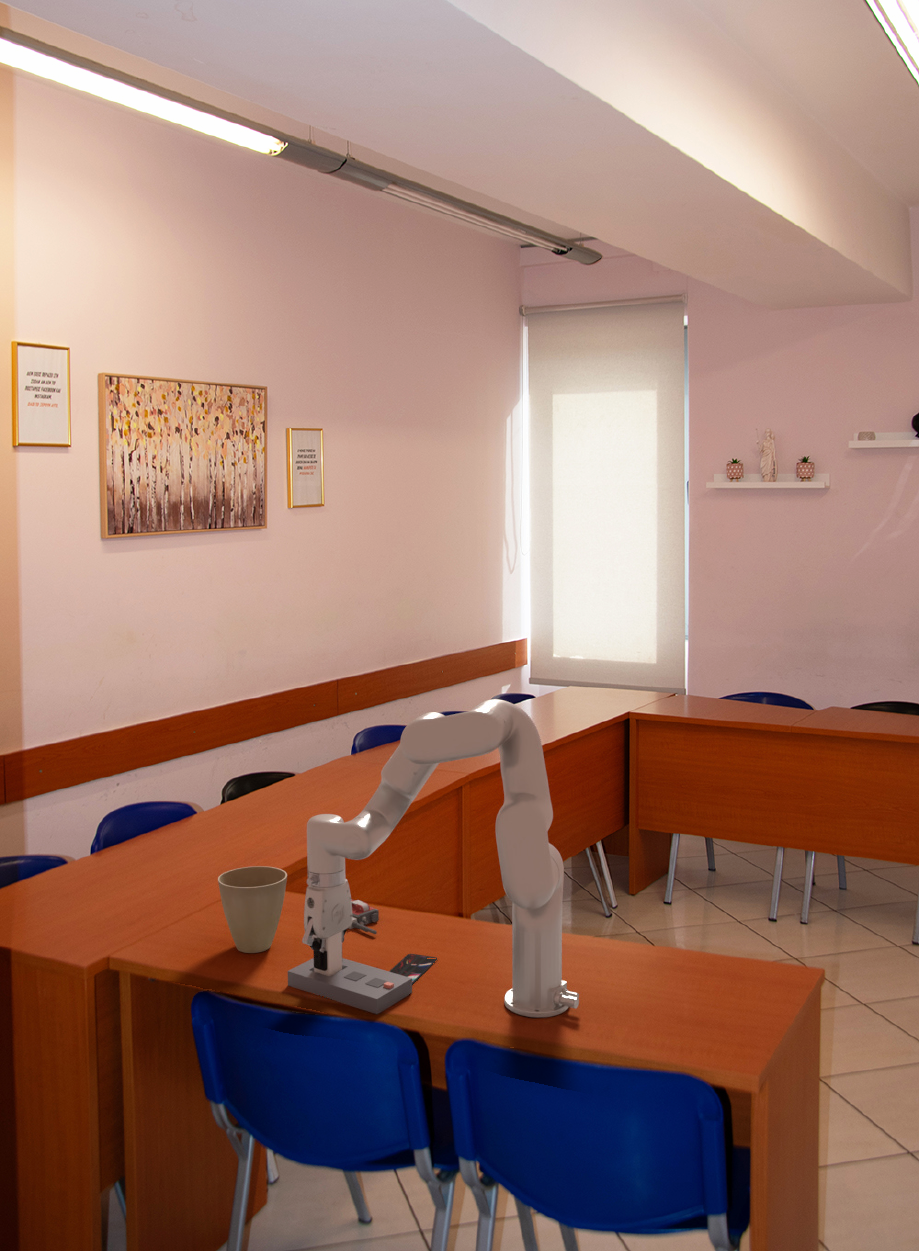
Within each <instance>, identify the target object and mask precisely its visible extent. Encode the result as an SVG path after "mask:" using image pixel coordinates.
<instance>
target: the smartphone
mask: <svg viewBox="0 0 919 1251" xmlns="http://www.w3.org/2000/svg"><path fill="white" fill-rule="evenodd" d="M427 958H436V959H427ZM437 958H438V957H435V956H429V955H423V954H422V955H421V954H417V953H408V954H406V955H405V956H404V957H403V958H402V959H401V960H399V961H398V963H396V965H394V966H393V967H391V969H390V970H388V971H389V972H392V973H395V974H399V975H402V976H406V977H409V978H412V985H413V984H414V983H415V982H416V981H419V980H420V979H419V978H420V977H421V976H422V975H423V974H424V975H425V974H426V973H427V971H429V970H430V969H431V968H432V967H433V966H434V964H435V963H436V962H437V961H438V960H437ZM436 960H437V961H436ZM435 961H436V962H435ZM433 963H434V964H433ZM424 975H423V976H424ZM421 978H422V977H421ZM418 979H419V980H418ZM416 983H417V982H416ZM416 983H415V984H416ZM415 984H414V985H415ZM414 985H413V986H414Z"/></svg>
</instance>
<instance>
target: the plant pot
mask: <svg viewBox="0 0 919 1251" xmlns="http://www.w3.org/2000/svg"><path fill="white" fill-rule="evenodd" d="M287 881H288V873H287V872H286V871H285V870H283V869H281V868H278V867H273V866H266V865H265V866H263V865H262V866H261V865H257V866H256V865H253V866H246V867H240V868H239V867H238V868H234V869H231V870H228V871H224V872H222V873H221V874H220V875H219V876H218V877H217V883H218V888H219V895H220V899H221V900H220V901H221V904H222V909H223V912H224V916H225V919H226V923H227V926H228V929H229V931H230V935H231V938H232V939H233V940H232V941H233V942H234V945H235V947H236V949H237V950H238V951H239V952H242V953H246V954H257V953H262V952H265V951H268V950H269V949H270V948H271V946H272V945H273V942H274V938H275V935H276V932H277V929H278V926H279V923H280V920H281V919H280V918H281V914H282V910H283V906H284V901H285V894H286V889H287V888H286V886H287Z"/></svg>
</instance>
